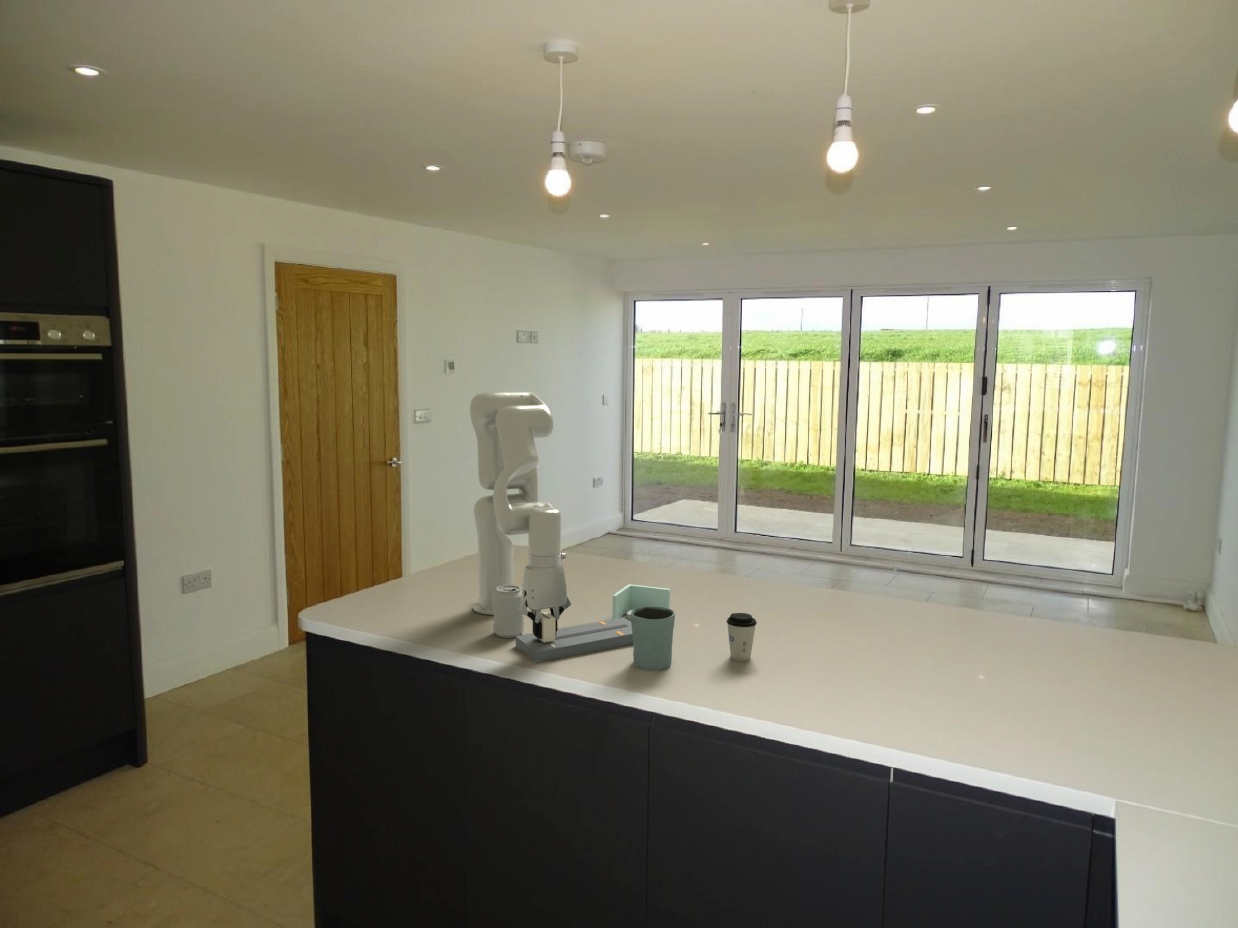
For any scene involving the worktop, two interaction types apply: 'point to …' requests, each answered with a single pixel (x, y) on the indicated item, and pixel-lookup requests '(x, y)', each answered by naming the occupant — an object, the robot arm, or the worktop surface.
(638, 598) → the right angle wall
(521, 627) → the can
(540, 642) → the fader console
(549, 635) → the fader tab
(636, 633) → the teal embossed cup
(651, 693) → the worktop surface
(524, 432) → the robot arm
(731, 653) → the coffee cup
